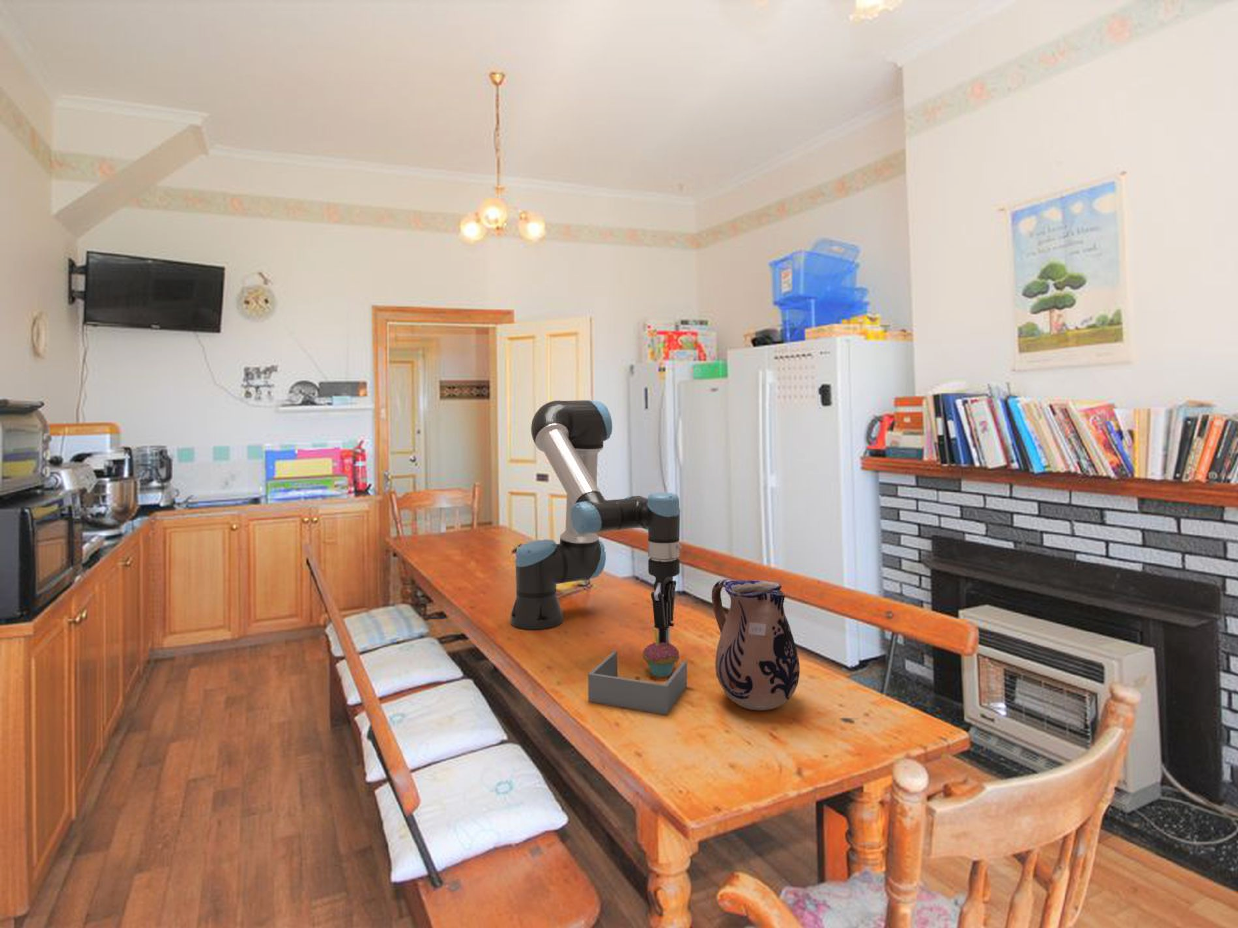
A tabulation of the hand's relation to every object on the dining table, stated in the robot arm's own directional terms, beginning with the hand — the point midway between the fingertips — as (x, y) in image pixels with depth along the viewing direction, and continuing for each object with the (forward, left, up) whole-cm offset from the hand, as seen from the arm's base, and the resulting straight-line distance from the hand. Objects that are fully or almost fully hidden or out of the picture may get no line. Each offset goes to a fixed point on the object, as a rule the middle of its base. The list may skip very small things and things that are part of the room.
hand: (664, 653), depth 163 cm
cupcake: (+1, -5, -3) cm, 6 cm away
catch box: (0, -17, -3) cm, 18 cm away
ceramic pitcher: (+23, -11, -3) cm, 26 cm away
